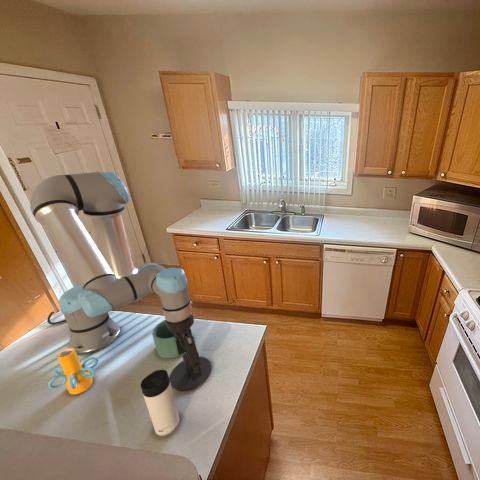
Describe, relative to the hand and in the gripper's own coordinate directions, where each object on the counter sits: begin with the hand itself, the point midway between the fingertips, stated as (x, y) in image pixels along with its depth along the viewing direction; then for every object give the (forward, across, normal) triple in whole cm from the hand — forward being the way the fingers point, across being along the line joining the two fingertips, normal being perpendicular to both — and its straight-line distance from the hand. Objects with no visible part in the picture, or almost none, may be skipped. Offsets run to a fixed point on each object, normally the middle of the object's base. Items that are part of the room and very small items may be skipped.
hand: (189, 364), depth 87 cm
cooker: (+5, +17, 0) cm, 18 cm away
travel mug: (+5, -13, +11) cm, 18 cm away
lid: (+4, 0, 0) cm, 4 cm away
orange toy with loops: (+5, +19, +28) cm, 34 cm away
